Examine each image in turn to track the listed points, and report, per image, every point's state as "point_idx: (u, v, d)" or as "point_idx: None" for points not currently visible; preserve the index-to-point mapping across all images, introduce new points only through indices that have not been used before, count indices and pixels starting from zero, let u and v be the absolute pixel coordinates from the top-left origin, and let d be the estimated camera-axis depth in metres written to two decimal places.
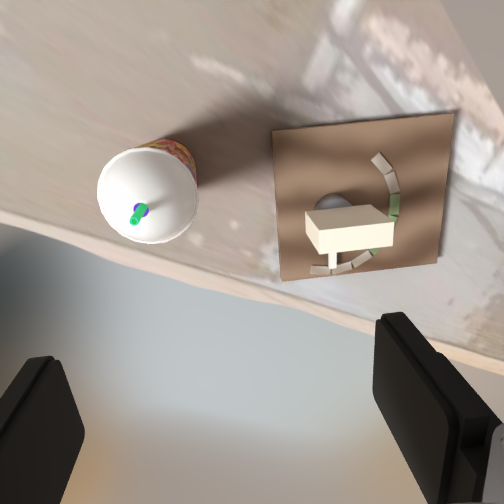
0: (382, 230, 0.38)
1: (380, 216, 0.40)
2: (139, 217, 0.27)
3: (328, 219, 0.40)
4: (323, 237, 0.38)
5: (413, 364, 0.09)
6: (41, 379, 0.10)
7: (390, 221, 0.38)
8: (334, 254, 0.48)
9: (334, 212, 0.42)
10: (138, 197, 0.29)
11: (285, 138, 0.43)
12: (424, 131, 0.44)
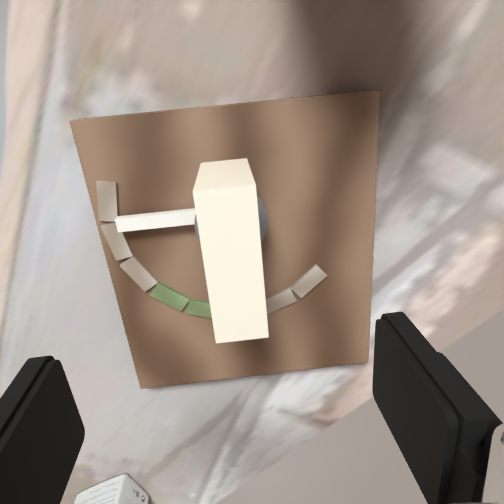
0: (251, 319, 0.18)
1: None
2: None
3: None
4: (237, 197, 0.16)
5: (413, 364, 0.09)
6: (41, 379, 0.10)
7: (267, 329, 0.19)
8: (147, 225, 0.25)
9: None
10: None
11: (366, 115, 0.24)
12: (349, 331, 0.31)
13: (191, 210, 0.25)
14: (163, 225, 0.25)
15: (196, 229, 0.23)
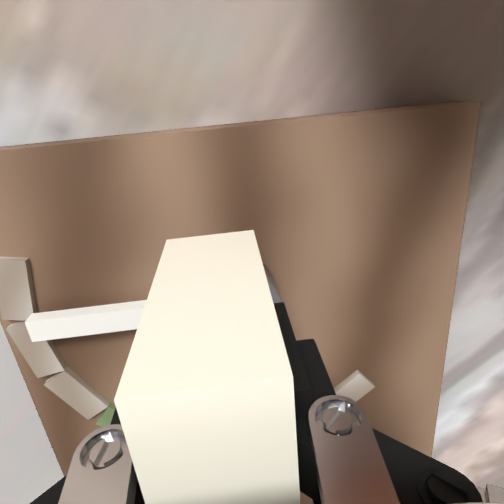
0: None
1: None
2: None
3: None
4: (241, 406, 0.06)
5: None
6: None
7: None
8: (82, 329, 0.15)
9: None
10: None
11: (453, 144, 0.14)
12: None
13: None
14: (109, 329, 0.15)
15: None
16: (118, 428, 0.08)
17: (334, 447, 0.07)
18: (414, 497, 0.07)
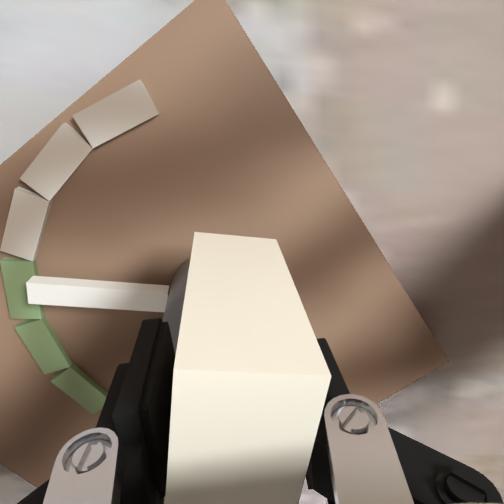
0: None
1: None
2: None
3: None
4: (280, 395, 0.06)
5: None
6: (160, 336, 0.11)
7: None
8: (81, 301, 0.15)
9: None
10: None
11: (417, 365, 0.19)
12: None
13: (160, 290, 0.15)
14: (108, 305, 0.15)
15: None
16: (102, 431, 0.08)
17: (349, 446, 0.07)
18: (433, 496, 0.07)
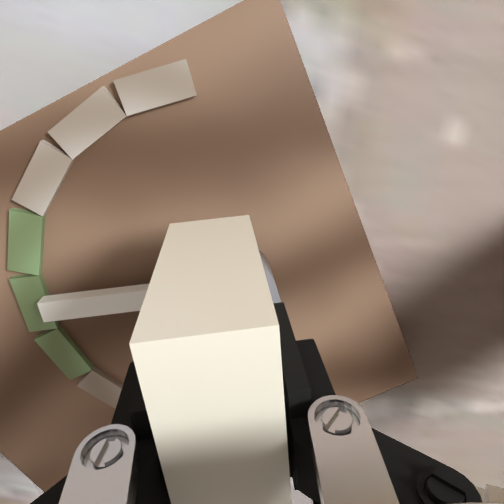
0: None
1: None
2: None
3: None
4: (236, 351, 0.07)
5: None
6: None
7: None
8: (90, 310, 0.16)
9: None
10: None
11: (389, 377, 0.20)
12: None
13: None
14: (115, 310, 0.16)
15: None
16: (118, 428, 0.08)
17: (334, 447, 0.07)
18: (413, 497, 0.07)
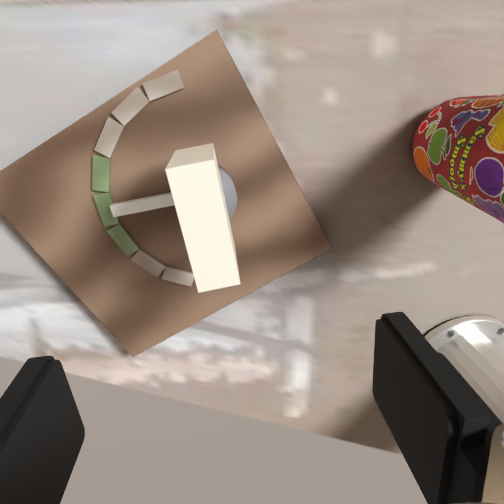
0: (224, 270, 0.23)
1: (236, 261, 0.25)
2: None
3: (219, 179, 0.23)
4: (200, 170, 0.20)
5: (413, 364, 0.09)
6: (41, 379, 0.10)
7: (239, 278, 0.23)
8: (137, 209, 0.29)
9: (222, 191, 0.26)
10: None
11: (313, 247, 0.33)
12: (152, 328, 0.35)
13: None
14: (150, 208, 0.29)
15: None
16: None
17: None
18: None
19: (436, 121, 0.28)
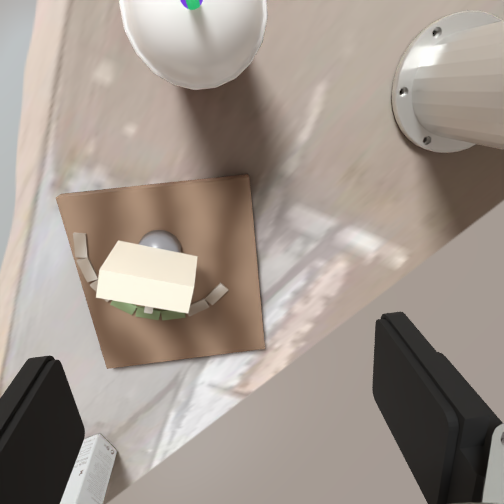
0: (178, 292, 0.32)
1: (188, 275, 0.33)
2: None
3: (129, 258, 0.33)
4: (104, 279, 0.31)
5: (413, 364, 0.09)
6: (41, 379, 0.10)
7: (191, 285, 0.32)
8: None
9: (147, 253, 0.35)
10: None
11: (242, 191, 0.39)
12: (249, 327, 0.45)
13: None
14: None
15: None
16: None
17: None
18: None
19: None
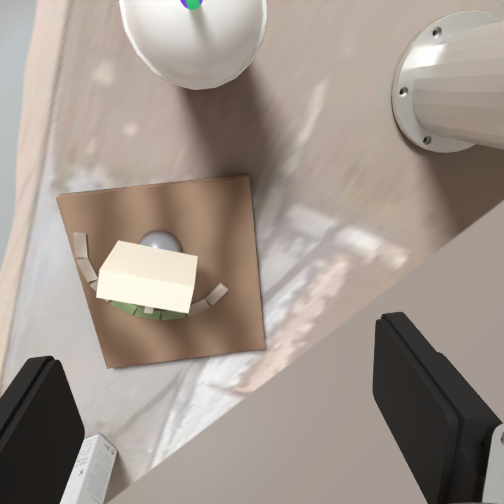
0: (178, 292, 0.32)
1: (188, 275, 0.33)
2: None
3: (129, 258, 0.33)
4: (104, 279, 0.31)
5: (413, 364, 0.09)
6: (41, 379, 0.10)
7: (191, 285, 0.32)
8: None
9: (147, 253, 0.35)
10: None
11: (242, 191, 0.39)
12: (249, 327, 0.45)
13: None
14: None
15: None
16: None
17: None
18: None
19: None
